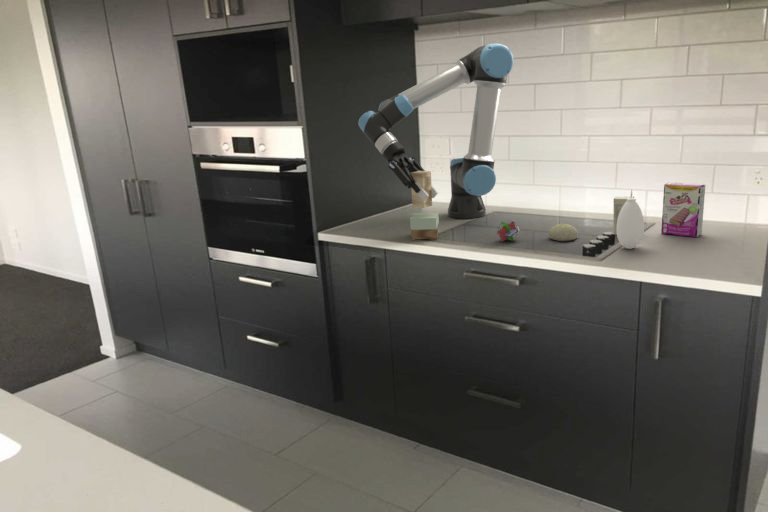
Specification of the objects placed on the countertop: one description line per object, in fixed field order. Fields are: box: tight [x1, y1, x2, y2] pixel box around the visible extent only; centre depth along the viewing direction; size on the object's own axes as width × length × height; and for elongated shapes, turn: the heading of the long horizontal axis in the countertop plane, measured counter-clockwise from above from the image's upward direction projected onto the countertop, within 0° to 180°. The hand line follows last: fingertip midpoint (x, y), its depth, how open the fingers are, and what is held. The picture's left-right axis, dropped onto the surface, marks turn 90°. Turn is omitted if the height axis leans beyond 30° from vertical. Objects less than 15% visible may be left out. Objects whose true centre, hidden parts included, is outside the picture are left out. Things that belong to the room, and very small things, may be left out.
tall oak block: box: [410, 170, 433, 209], centre depth 217 cm, size 5×5×12 cm
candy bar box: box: [660, 181, 706, 238], centre depth 199 cm, size 11×5×16 cm, turn 47°
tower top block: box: [409, 212, 440, 231], centre depth 220 cm, size 9×9×4 cm
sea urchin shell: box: [548, 223, 578, 242], centre depth 206 cm, size 9×8×8 cm
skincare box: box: [613, 196, 635, 236], centre depth 206 cm, size 6×4×12 cm
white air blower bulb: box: [616, 189, 645, 250], centre depth 188 cm, size 8×8×18 cm
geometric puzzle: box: [496, 220, 521, 243], centre depth 208 cm, size 7×7×8 cm
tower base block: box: [410, 226, 439, 240], centre depth 221 cm, size 9×9×4 cm
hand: (430, 196), depth 216 cm, fingers closed on tall oak block, 5 cm apart
